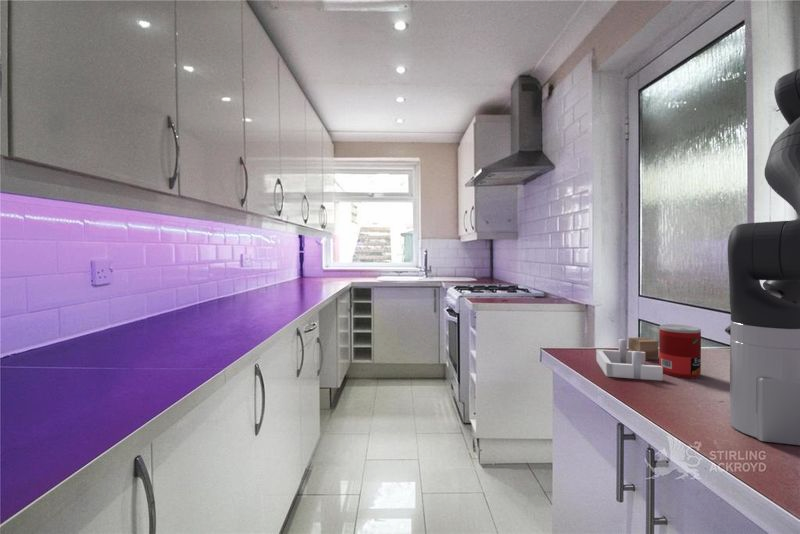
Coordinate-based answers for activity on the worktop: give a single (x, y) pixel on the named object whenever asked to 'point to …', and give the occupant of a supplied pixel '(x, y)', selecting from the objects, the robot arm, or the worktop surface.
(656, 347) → the walnut block
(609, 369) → the tray
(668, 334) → the canned food
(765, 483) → the worktop surface
